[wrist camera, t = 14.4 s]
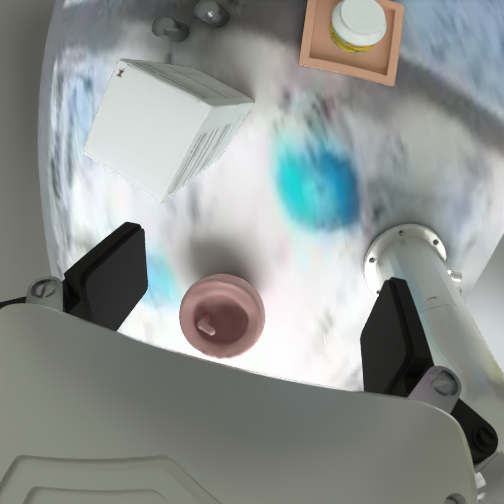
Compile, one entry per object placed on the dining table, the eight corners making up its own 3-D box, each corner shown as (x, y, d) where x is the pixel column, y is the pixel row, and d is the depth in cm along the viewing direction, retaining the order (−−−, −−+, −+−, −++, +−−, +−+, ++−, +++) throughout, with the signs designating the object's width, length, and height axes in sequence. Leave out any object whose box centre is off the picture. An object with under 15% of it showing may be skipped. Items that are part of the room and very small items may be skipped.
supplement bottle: (381, 28, 25) (402, 8, 17) (363, 62, 28) (379, 51, 20) (340, 7, 25) (347, -21, 17) (321, 41, 28) (323, 22, 20)
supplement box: (161, 126, 37) (78, 153, 23) (193, 66, 33) (115, 55, 18) (220, 162, 38) (161, 207, 24) (258, 101, 34) (214, 105, 19)
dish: (400, 8, 24) (404, 5, 22) (390, 86, 29) (394, 86, 28) (310, -13, 25) (310, -17, 23) (299, 65, 30) (298, 64, 29)
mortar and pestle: (275, 265, 44) (261, 317, 34) (266, 326, 50) (253, 379, 40) (195, 252, 46) (163, 297, 36) (197, 312, 52) (172, 360, 42)
